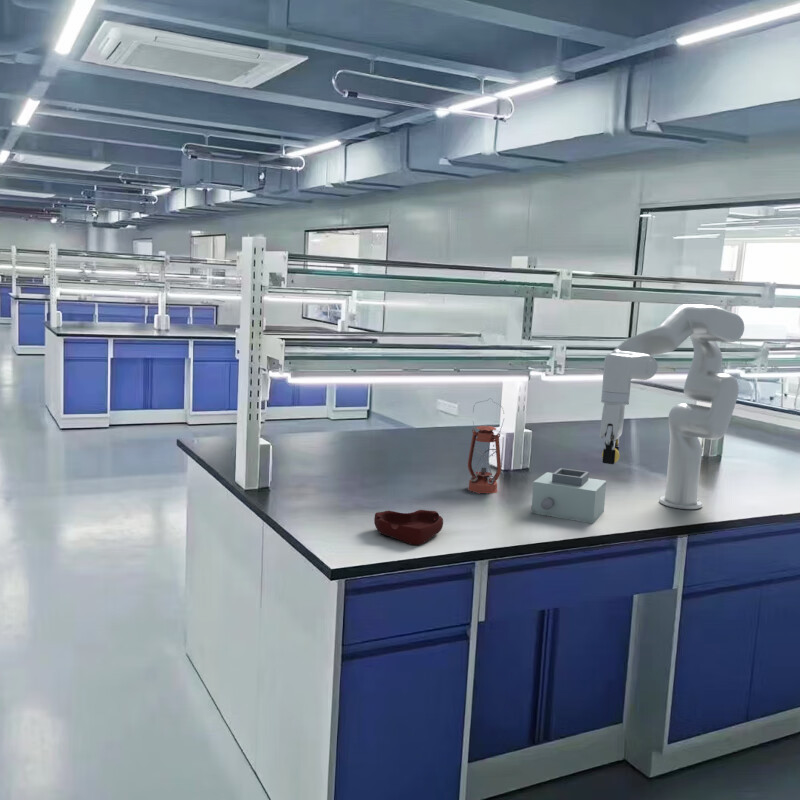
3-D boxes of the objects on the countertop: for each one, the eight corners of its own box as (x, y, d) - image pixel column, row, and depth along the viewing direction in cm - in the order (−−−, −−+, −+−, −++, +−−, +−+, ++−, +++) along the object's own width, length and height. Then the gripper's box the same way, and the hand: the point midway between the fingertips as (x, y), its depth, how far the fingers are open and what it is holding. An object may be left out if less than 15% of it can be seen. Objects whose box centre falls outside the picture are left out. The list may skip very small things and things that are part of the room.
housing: (544, 501, 240) (547, 464, 238) (603, 511, 232) (607, 472, 230) (528, 515, 225) (530, 475, 223) (590, 526, 217) (594, 484, 215)
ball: (603, 460, 223) (604, 444, 222) (620, 463, 221) (621, 446, 220) (599, 464, 219) (601, 447, 218) (617, 466, 217) (618, 449, 216)
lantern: (495, 486, 256) (500, 396, 251) (500, 495, 246) (506, 401, 241) (466, 485, 256) (470, 395, 251) (469, 494, 245) (474, 400, 241)
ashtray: (383, 549, 192) (384, 529, 192) (371, 528, 208) (371, 510, 207) (452, 546, 196) (453, 527, 195) (435, 526, 212) (436, 508, 211)
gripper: (607, 393, 226) (602, 454, 229) (595, 400, 211) (590, 465, 214) (633, 395, 223) (628, 457, 226) (624, 402, 208) (618, 469, 211)
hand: (610, 461), depth 220 cm, fingers closed on ball, 4 cm apart
